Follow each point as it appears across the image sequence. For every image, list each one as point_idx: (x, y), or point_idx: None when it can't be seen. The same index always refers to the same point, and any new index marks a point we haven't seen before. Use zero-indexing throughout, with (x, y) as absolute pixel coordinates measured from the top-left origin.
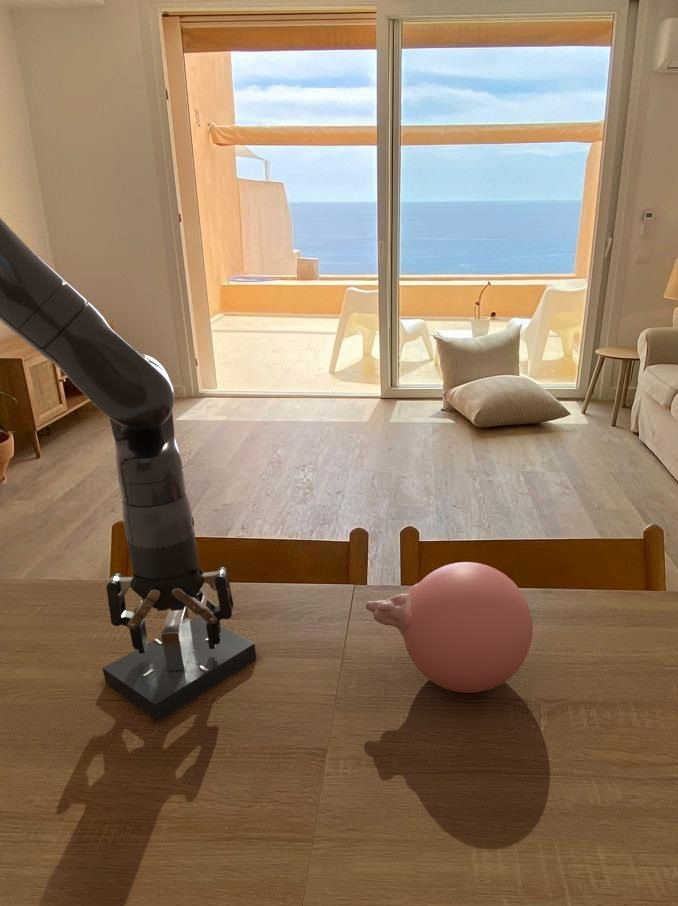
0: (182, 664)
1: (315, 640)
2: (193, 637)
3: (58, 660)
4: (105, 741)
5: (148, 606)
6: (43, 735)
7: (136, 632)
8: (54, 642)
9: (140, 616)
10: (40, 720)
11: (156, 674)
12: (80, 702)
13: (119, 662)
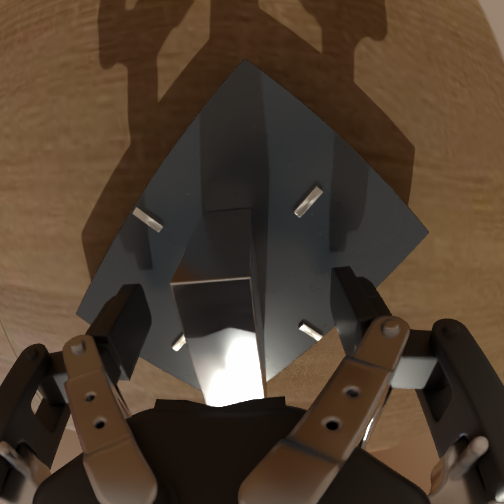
0: (200, 219)
1: (32, 330)
2: None
3: (482, 289)
4: (351, 18)
5: (328, 413)
6: (471, 70)
7: (370, 310)
8: (483, 331)
9: (365, 363)
10: (487, 116)
11: (282, 196)
12: (441, 158)
13: (394, 253)
